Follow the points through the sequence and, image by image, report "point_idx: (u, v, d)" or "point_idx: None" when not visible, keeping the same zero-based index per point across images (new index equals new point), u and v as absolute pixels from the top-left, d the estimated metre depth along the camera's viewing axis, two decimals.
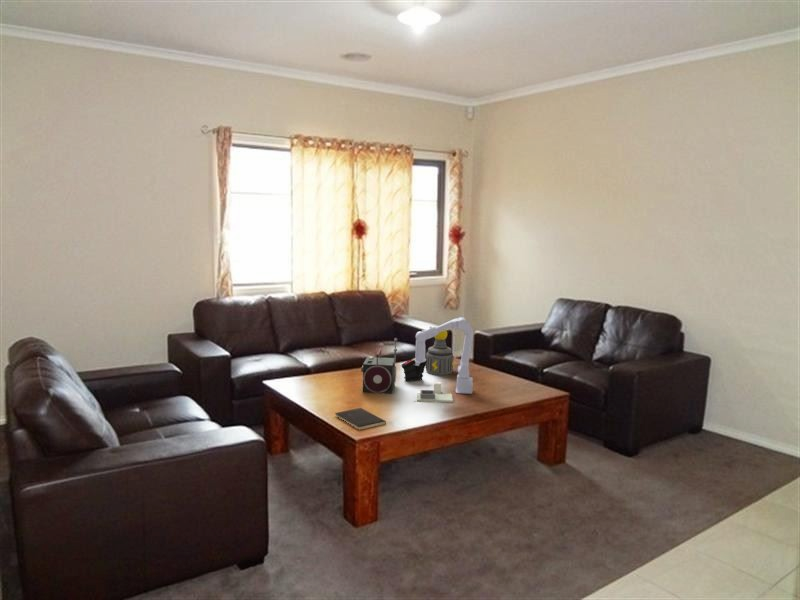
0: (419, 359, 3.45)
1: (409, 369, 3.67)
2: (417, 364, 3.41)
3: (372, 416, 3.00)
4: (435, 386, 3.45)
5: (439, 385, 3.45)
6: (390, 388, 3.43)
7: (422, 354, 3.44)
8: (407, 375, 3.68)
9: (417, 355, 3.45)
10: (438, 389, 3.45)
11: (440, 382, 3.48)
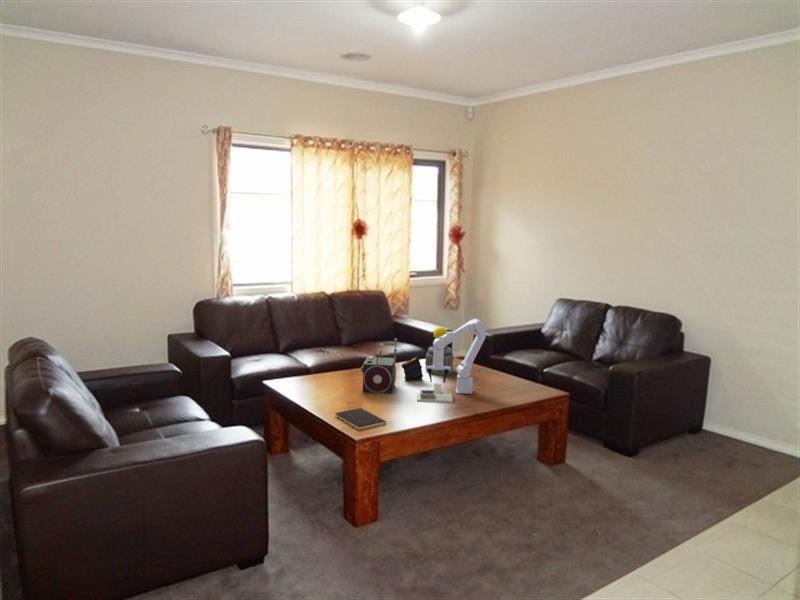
0: (433, 365, 3.45)
1: (409, 369, 3.67)
2: None
3: (372, 416, 3.00)
4: (435, 386, 3.45)
5: (439, 385, 3.45)
6: (390, 388, 3.43)
7: (434, 361, 3.43)
8: (407, 375, 3.68)
9: None
10: (438, 389, 3.45)
11: (440, 382, 3.47)
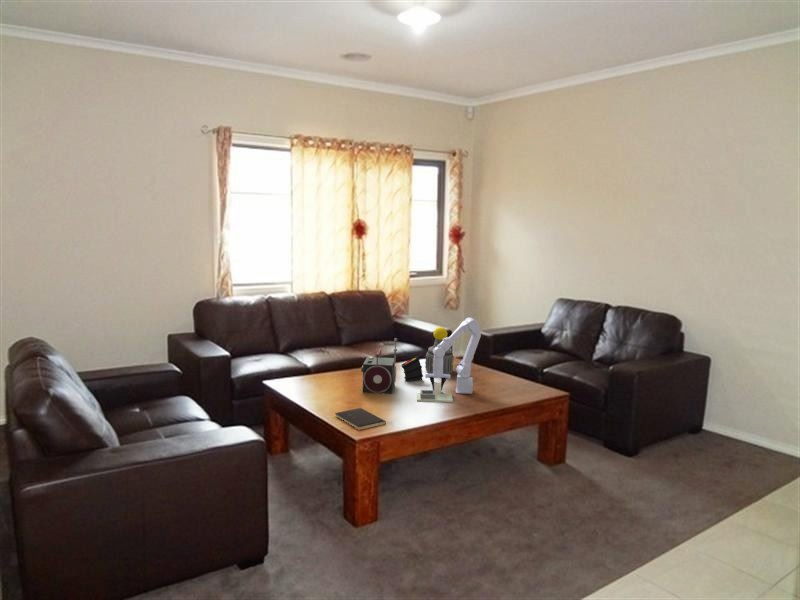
0: (433, 373, 3.46)
1: (409, 369, 3.67)
2: (425, 376, 3.46)
3: (372, 416, 3.00)
4: (435, 386, 3.45)
5: (439, 385, 3.45)
6: (390, 388, 3.43)
7: (434, 369, 3.44)
8: (407, 375, 3.68)
9: None
10: (438, 389, 3.45)
11: (440, 382, 3.47)
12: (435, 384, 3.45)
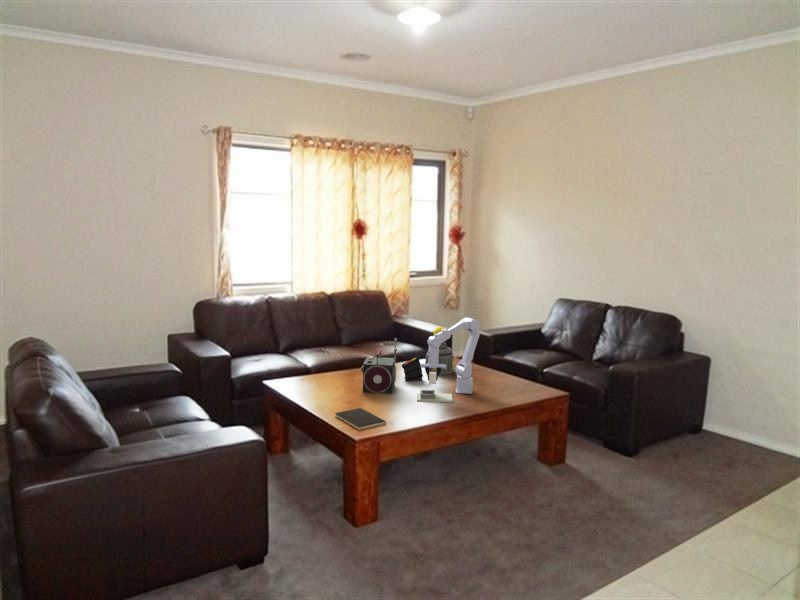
0: (428, 363, 3.39)
1: (409, 369, 3.67)
2: (420, 366, 3.40)
3: (372, 416, 3.00)
4: (430, 376, 3.39)
5: (434, 375, 3.39)
6: (390, 388, 3.43)
7: (429, 359, 3.37)
8: (407, 375, 3.68)
9: None
10: (433, 379, 3.39)
11: (435, 372, 3.41)
12: (430, 374, 3.39)
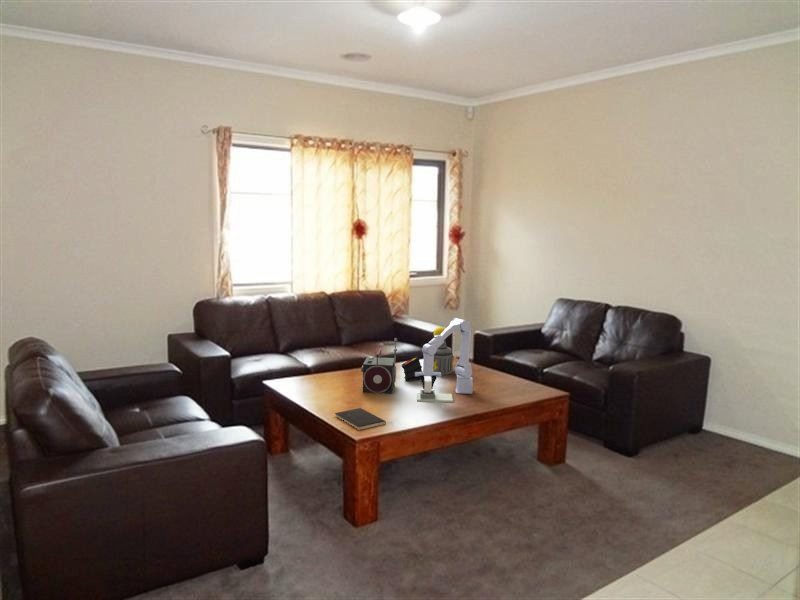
0: (423, 371, 3.34)
1: (409, 369, 3.67)
2: (415, 374, 3.34)
3: (372, 416, 3.00)
4: (425, 385, 3.34)
5: (429, 384, 3.34)
6: (390, 388, 3.43)
7: (424, 367, 3.32)
8: (407, 375, 3.68)
9: None
10: (428, 388, 3.34)
11: (430, 380, 3.36)
12: (425, 383, 3.34)
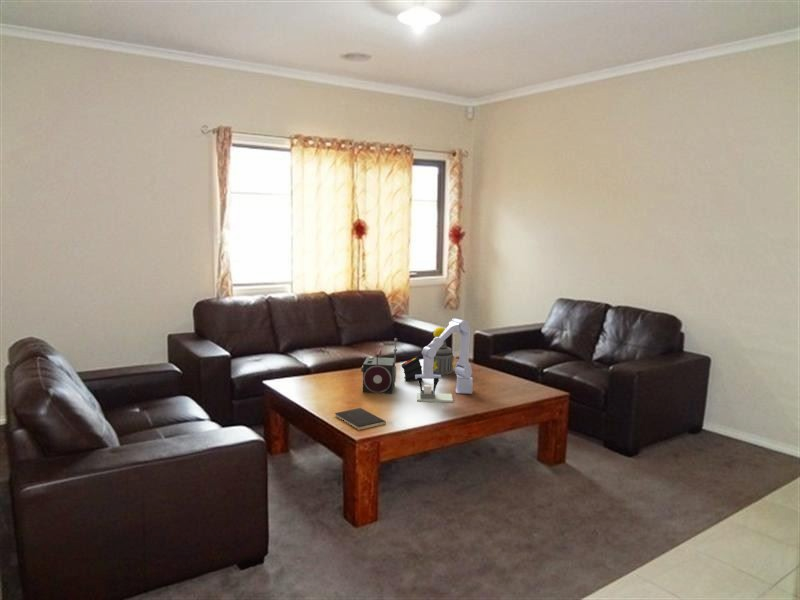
0: (423, 374, 3.35)
1: (409, 369, 3.67)
2: (415, 377, 3.35)
3: (372, 417, 3.00)
4: (425, 389, 3.34)
5: (429, 388, 3.34)
6: (390, 388, 3.43)
7: (424, 369, 3.33)
8: (407, 375, 3.68)
9: None
10: (428, 392, 3.35)
11: (430, 385, 3.37)
12: (425, 387, 3.34)
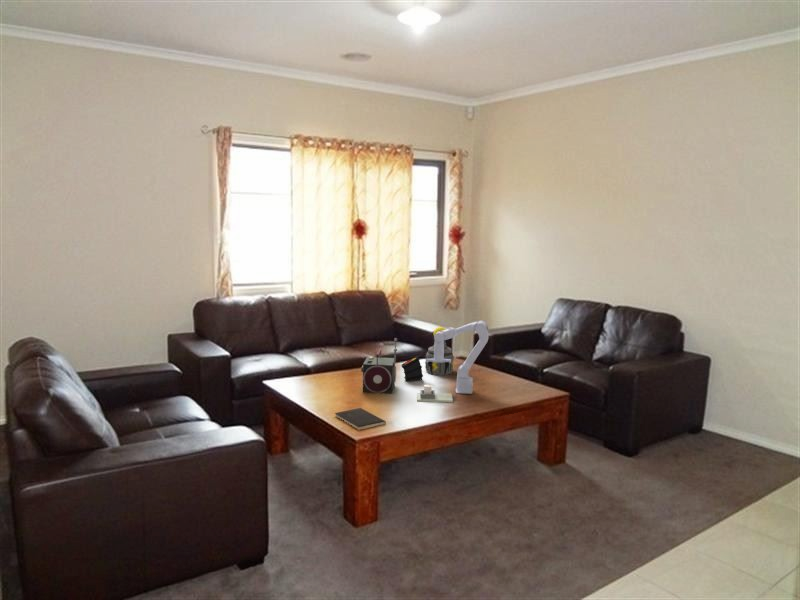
0: (434, 358, 3.50)
1: (409, 369, 3.67)
2: (426, 361, 3.50)
3: (372, 417, 3.00)
4: (425, 389, 3.34)
5: (429, 388, 3.34)
6: (390, 388, 3.43)
7: (435, 353, 3.48)
8: (407, 375, 3.68)
9: None
10: (428, 392, 3.35)
11: (430, 385, 3.37)
12: (425, 387, 3.34)
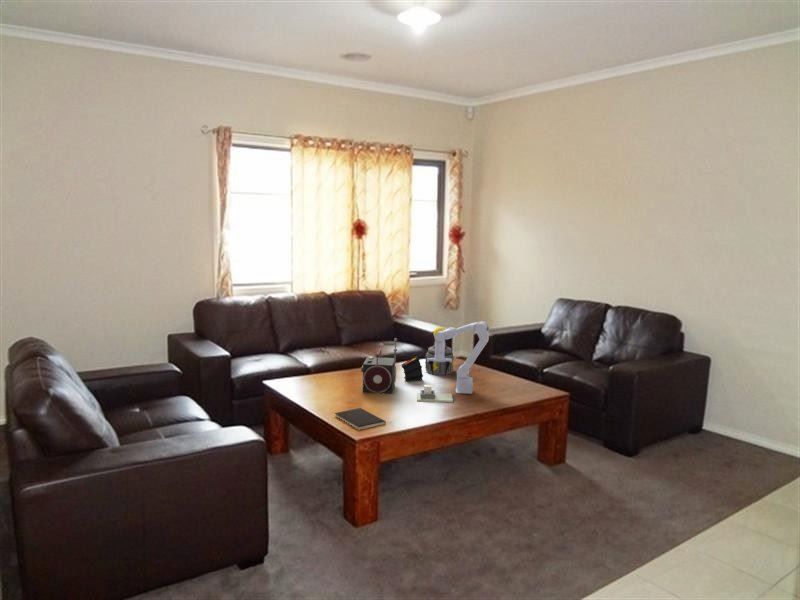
0: None
1: (409, 369, 3.67)
2: (427, 360, 3.52)
3: (372, 417, 3.00)
4: (425, 389, 3.34)
5: (429, 388, 3.34)
6: (390, 388, 3.43)
7: (436, 353, 3.50)
8: (407, 375, 3.68)
9: None
10: (428, 392, 3.35)
11: (430, 385, 3.37)
12: (425, 387, 3.34)
